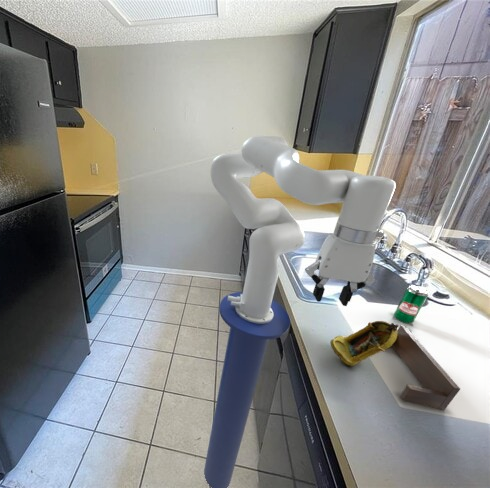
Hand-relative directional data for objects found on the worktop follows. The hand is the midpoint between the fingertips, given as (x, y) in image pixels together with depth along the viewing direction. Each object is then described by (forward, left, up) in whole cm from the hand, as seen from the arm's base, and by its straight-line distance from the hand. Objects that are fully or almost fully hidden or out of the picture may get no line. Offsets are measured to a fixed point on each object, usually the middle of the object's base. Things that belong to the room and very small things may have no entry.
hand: (329, 299), depth 64 cm
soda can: (+34, +24, -18) cm, 45 cm away
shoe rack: (+20, 0, -17) cm, 27 cm away
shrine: (+10, 0, -18) cm, 20 cm away
